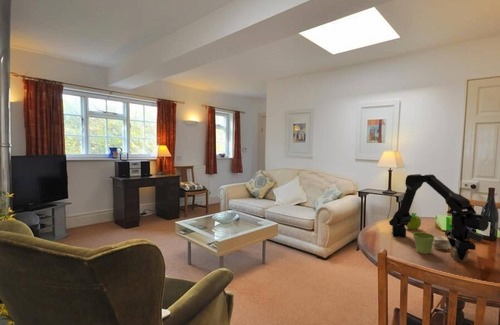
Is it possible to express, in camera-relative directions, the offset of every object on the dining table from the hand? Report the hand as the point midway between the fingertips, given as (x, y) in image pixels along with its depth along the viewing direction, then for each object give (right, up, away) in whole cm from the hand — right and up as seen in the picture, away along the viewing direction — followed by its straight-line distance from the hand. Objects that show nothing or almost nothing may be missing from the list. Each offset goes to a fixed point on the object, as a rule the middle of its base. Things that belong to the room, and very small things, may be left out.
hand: (458, 256), depth 122 cm
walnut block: (0, -1, 0) cm, 1 cm away
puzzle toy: (+24, +1, +29) cm, 38 cm away
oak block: (+2, 0, +14) cm, 15 cm away
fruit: (+6, +2, +44) cm, 44 cm away
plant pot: (-10, -1, +10) cm, 14 cm away
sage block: (+10, 0, +13) cm, 17 cm away
